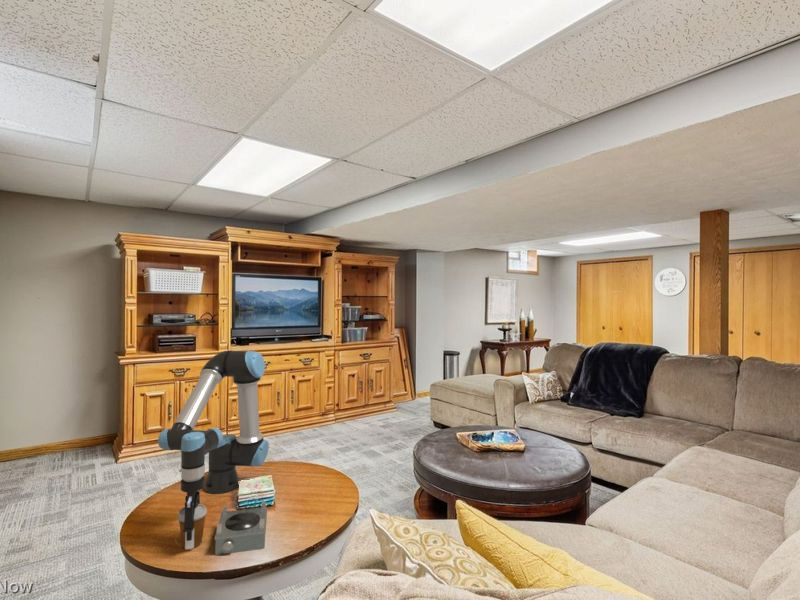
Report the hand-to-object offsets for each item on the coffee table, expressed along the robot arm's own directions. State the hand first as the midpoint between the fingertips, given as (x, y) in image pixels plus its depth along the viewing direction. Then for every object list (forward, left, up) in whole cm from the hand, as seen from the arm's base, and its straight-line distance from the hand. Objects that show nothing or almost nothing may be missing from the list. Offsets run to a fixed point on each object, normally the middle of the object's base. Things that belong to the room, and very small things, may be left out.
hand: (192, 541), depth 152 cm
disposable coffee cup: (0, 0, -1) cm, 1 cm away
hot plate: (0, +17, -1) cm, 17 cm away
